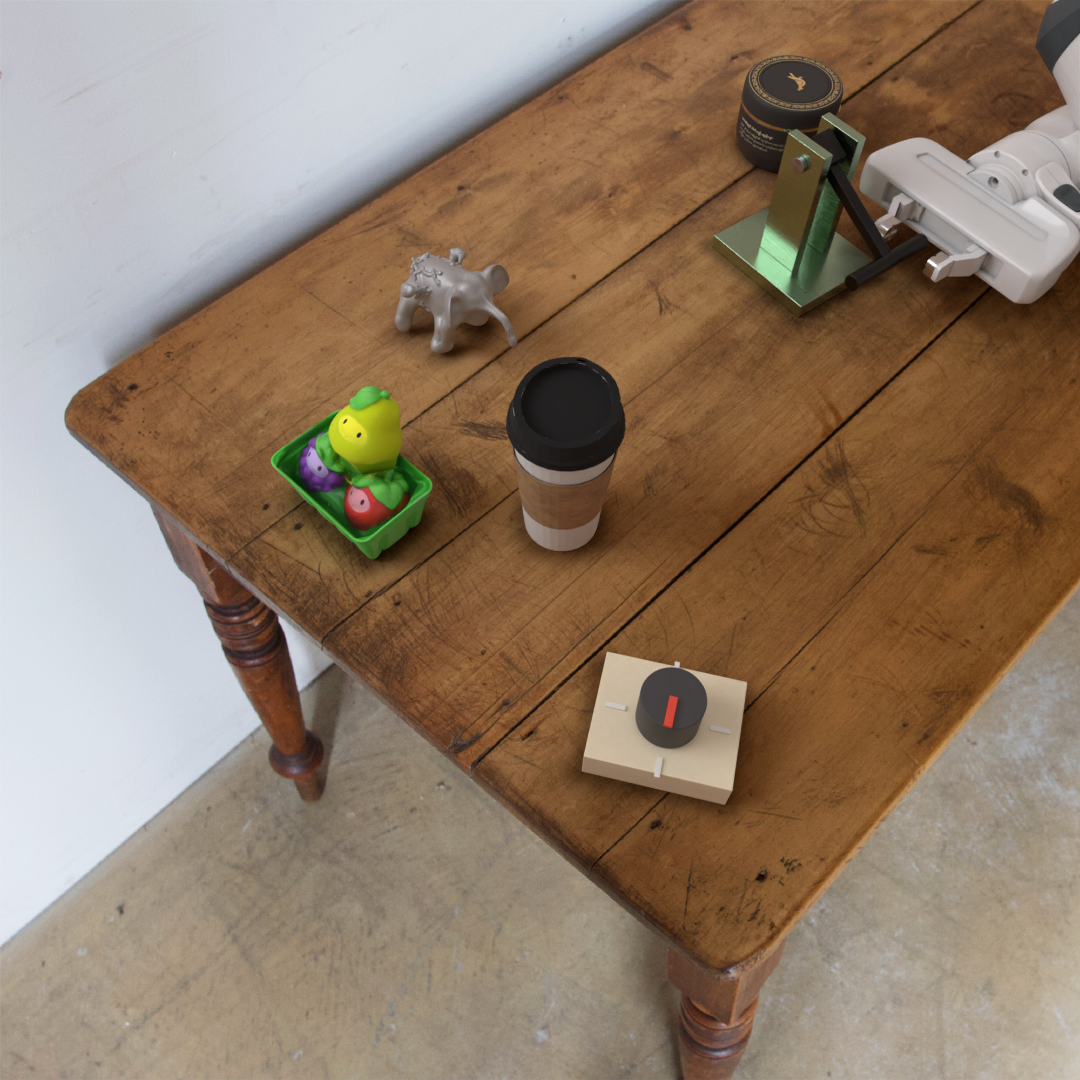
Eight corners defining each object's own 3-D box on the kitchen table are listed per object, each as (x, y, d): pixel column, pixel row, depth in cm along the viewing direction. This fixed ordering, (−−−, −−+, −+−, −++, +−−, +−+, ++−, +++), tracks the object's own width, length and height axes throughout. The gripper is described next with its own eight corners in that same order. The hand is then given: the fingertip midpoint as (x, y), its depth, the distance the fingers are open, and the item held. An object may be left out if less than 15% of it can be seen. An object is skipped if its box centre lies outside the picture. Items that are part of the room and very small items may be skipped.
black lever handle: (917, 253, 89) (935, 242, 87) (847, 295, 86) (863, 284, 84) (842, 128, 89) (858, 113, 87) (769, 165, 86) (783, 151, 84)
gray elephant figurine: (428, 283, 94) (420, 217, 88) (545, 317, 92) (547, 253, 86) (385, 350, 90) (373, 286, 83) (507, 388, 87) (506, 325, 81)
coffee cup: (625, 493, 81) (642, 368, 69) (596, 577, 77) (609, 461, 64) (527, 467, 83) (527, 340, 70) (494, 549, 78) (487, 430, 66)
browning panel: (740, 695, 72) (748, 677, 69) (724, 809, 68) (732, 794, 65) (605, 665, 73) (608, 646, 71) (580, 775, 69) (582, 759, 66)
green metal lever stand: (872, 273, 96) (920, 149, 84) (797, 318, 92) (836, 195, 81) (785, 206, 101) (818, 80, 89) (711, 246, 97) (736, 121, 86)
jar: (777, 107, 110) (793, 41, 103) (846, 152, 105) (866, 86, 99) (712, 142, 106) (724, 76, 100) (780, 191, 102) (797, 124, 96)
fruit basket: (278, 496, 81) (245, 407, 71) (361, 435, 84) (340, 342, 75) (370, 581, 77) (348, 497, 67) (453, 513, 80) (443, 424, 71)
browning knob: (642, 681, 69) (648, 657, 66) (704, 696, 69) (713, 673, 65) (629, 739, 67) (634, 717, 64) (693, 756, 66) (701, 734, 63)
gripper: (931, 105, 94) (827, 160, 89) (1114, 223, 85) (1009, 290, 80) (910, 162, 99) (811, 217, 94) (1080, 279, 90) (980, 345, 86)
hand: (903, 252), depth 87 cm, fingers open, 5 cm apart
